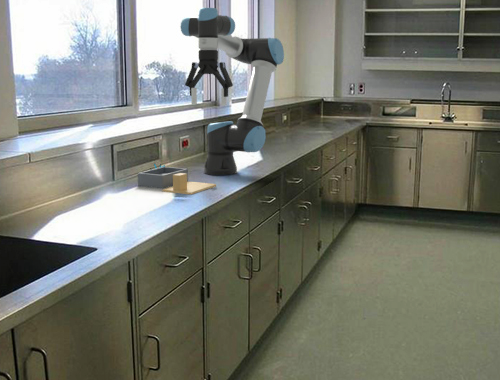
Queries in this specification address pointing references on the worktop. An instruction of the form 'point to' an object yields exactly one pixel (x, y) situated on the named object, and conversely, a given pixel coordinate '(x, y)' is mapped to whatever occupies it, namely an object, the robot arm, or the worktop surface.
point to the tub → (159, 177)
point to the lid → (186, 185)
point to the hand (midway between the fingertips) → (208, 105)
